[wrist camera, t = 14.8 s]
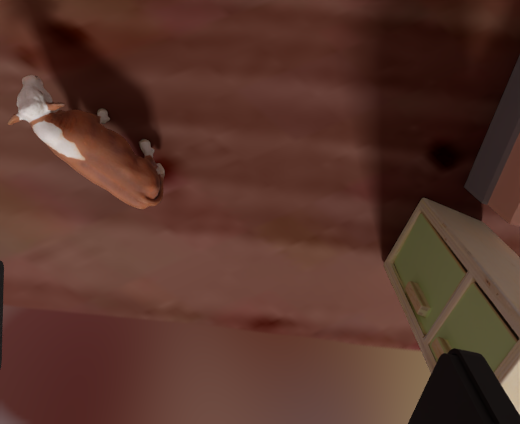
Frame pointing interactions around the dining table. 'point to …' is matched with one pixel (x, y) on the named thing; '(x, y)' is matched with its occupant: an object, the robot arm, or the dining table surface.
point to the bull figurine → (91, 146)
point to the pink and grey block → (501, 157)
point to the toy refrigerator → (459, 290)
